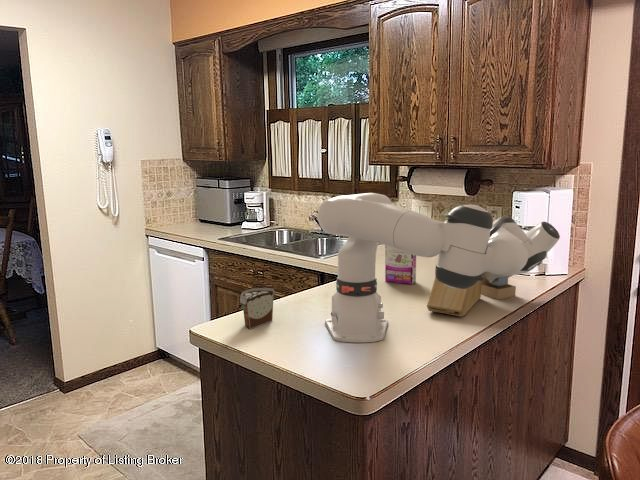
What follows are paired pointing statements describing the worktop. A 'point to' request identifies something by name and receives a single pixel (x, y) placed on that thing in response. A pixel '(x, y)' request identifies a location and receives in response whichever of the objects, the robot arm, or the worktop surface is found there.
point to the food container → (257, 306)
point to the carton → (497, 290)
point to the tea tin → (499, 283)
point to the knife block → (453, 298)
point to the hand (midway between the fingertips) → (496, 279)
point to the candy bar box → (399, 266)
